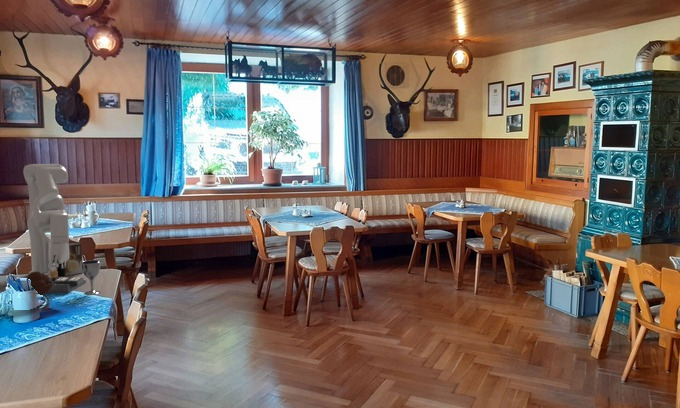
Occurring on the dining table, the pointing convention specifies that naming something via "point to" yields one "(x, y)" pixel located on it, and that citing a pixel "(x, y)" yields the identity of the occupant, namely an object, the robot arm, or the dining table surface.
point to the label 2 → (74, 279)
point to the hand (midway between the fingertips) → (61, 276)
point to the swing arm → (52, 270)
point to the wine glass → (91, 273)
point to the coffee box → (74, 259)
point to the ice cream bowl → (40, 282)
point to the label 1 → (61, 279)
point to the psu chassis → (65, 285)
